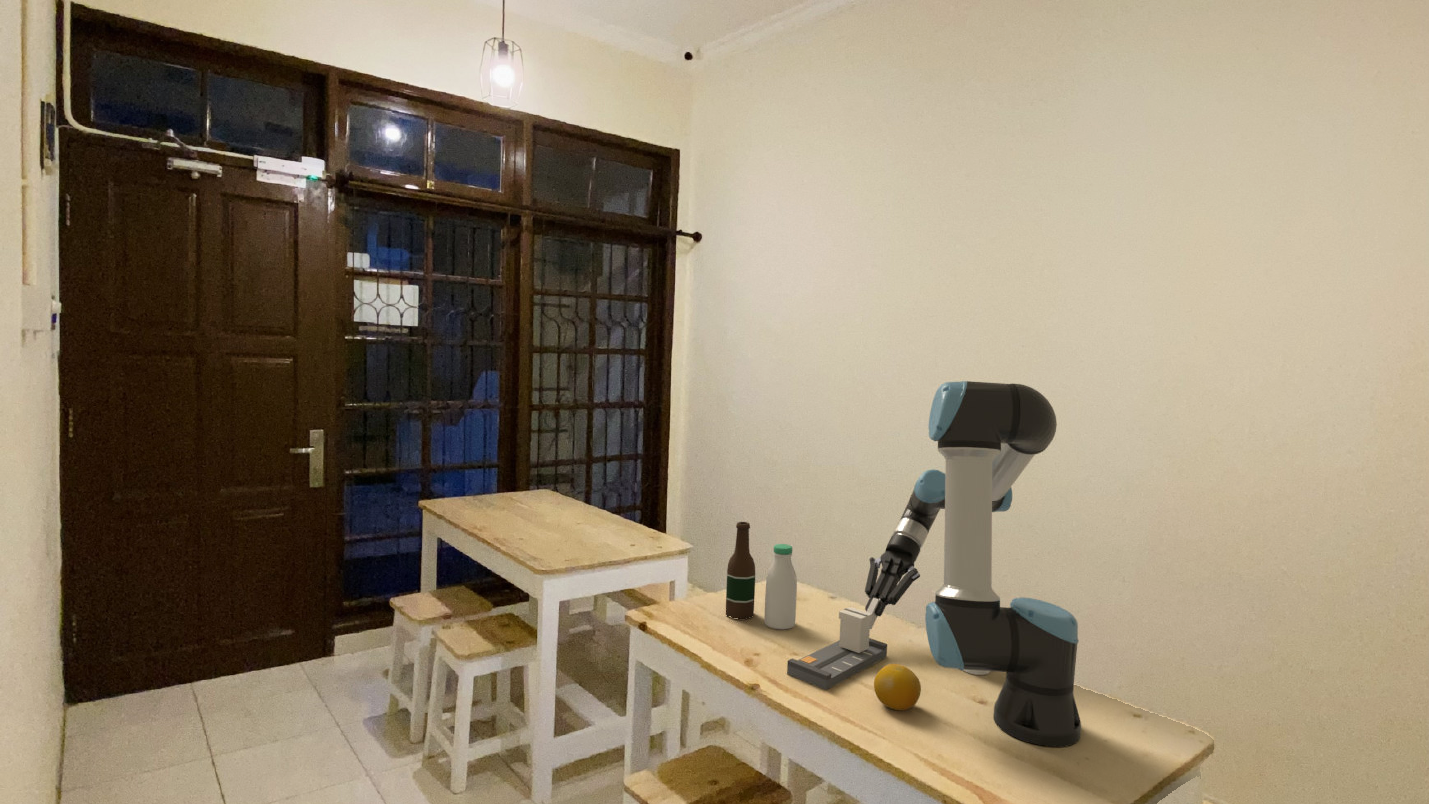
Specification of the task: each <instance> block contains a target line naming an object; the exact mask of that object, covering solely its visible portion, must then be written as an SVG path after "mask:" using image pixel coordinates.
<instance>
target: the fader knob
mask: <svg viewBox="0 0 1429 804" xmlns="http://www.w3.org/2000/svg"><path fill="white" fill-rule="evenodd" d="M838 619H839V620H840V624H839V639H838V641H839V646H840V647H843V648H846V649H849V650H851V651H854V652H857V653H860V652H862V651H864V650H866V649H868V648H869V638H870V631H871V629H870V621H872V613H869V612H866V610H862V609H858V608H856V607H852V606H849V607H846V608H844V609H842V610H840V611H838Z"/></svg>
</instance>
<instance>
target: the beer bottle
mask: <svg viewBox="0 0 1429 804" xmlns="http://www.w3.org/2000/svg"><path fill="white" fill-rule="evenodd" d="M735 526H736V527H735V528H736V536H735V537H736V539H735V547H734V552H733V554H732V555H731V557H730V558H729V560H728V563H727V569H726V592H725V593H726V595H725V616H726V615H727V616H726V617H728V616H731V617H732V618H738V619H737V620H740V619H746V618H749V617H752V616H753V617H754V612H755V596H756V595H755V593H756V591H755V590H756V564H755V563H756V562H755V560H754V558H753V556H752V555H751V552H750V529H751V525H750V522H747V521H738V522H736V525H735ZM753 617H752V618H753ZM732 618H731V619H732ZM749 619H750V618H749ZM746 620H747V619H746Z"/></svg>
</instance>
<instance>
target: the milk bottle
mask: <svg viewBox="0 0 1429 804" xmlns="http://www.w3.org/2000/svg"><path fill="white" fill-rule="evenodd" d="M773 555H774V556H773V561H772V563H771V565H770V567H769V569H768V571H767V575H766V578H765V580H766V581H765V593H764V594H765V596H764V597H765V599H764V616H763V617H764V620H763V622H764V624H765V626H766V627H768V628H770V629H774V630H789V629H792V628H794V627H795V625H796V617H797V615H796V614H797V613H796V612H797V592H798V579H797V574H796V571H795V567H794V565H793V562H792V556H793V546H791V544H784V543H777V544H775V545H773Z"/></svg>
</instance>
